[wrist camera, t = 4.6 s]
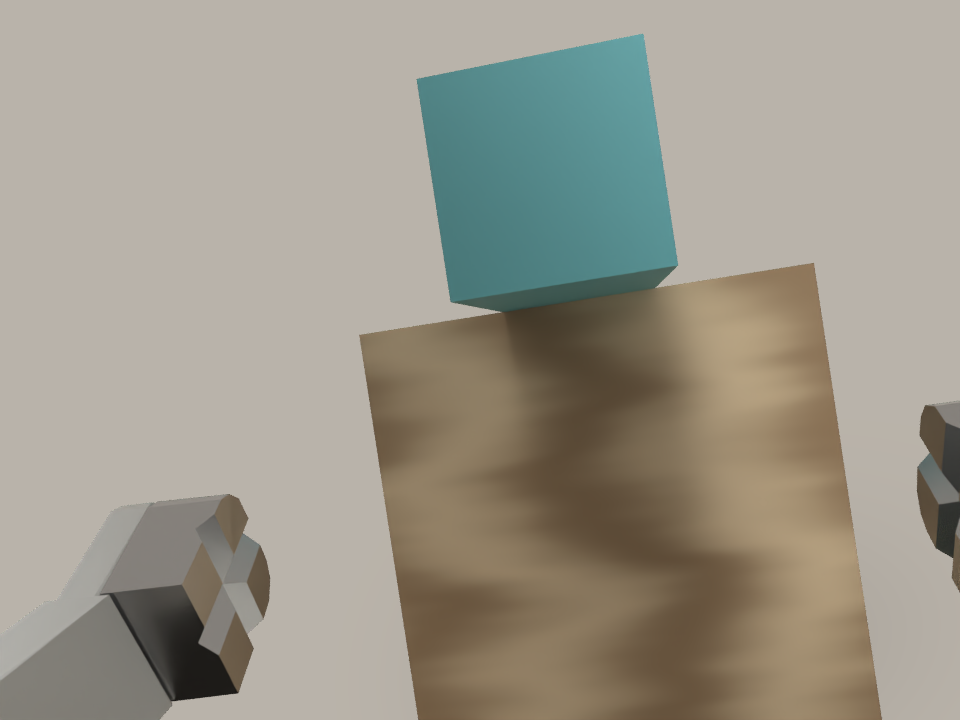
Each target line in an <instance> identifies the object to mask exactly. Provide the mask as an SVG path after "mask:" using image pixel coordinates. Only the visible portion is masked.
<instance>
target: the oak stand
mask: <svg viewBox="0 0 960 720" xmlns="http://www.w3.org/2000/svg"><path fill="white" fill-rule="evenodd" d="M359 336H360V342H361V349H362V355H363V362H364V368H365V375H366V381H367V388H368V394H369V401H370V407H371V414H372V420H373V427H374V434H375V440H376V446H377V453H378V459H379V466H380V473H381V479H382V486H383V492H384V499H385V505H386V512H387V518H388V525H389V531H390V538H391V544H392V551H393V557H394V564H395V570H396V576H397V583H398V590H399V595H400V603H401V609H402V616H403V622H404V629H405V635H406V642H407V648H408V655H409V661H410V668H411V674H412V681H413V687H414V694H415V701H416V707H417V714H418V720H882V717H881V711H880V704H879V697H878V691H877V684H876V677H875V671H874V664H873V657H872V650H871V644H870V637H869V630H868V624H867V617H866V610H865V603H864V596H863V590H862V583H861V577H860V570H859V564H858V556H857V549H856V543H855V536H854V529H853V523H852V516H851V509H850V503H849V496H848V489H847V483H846V476H845V470H844V463H843V456H842V449H841V443H840V435H839V429H838V422H837V416H836V409H835V402H834V395H833V389H832V382H831V375H830V368H829V362H828V355H827V349H826V341H825V335H824V328H823V321H822V315H821V308H820V301H819V294H818V288H817V281H816V274H815V268H814V263H811V264H805V265H798V266H792V267H786V268H779V269H773V270H767V271H760V272H754V273H748V274H741V275H735V276H729V277H723V278H717V279H710V280H703V281H697V282H691V283H684V284H678V285H672V286H665V287H659V288H653V289H647V290H640V291H634V292H628V293H621V294H615V295H609V296H602V297H596V298H590V299H584V300H577V301H571V302H565V303H558V304H552V305H546V306H539V307H533V308H527V309H520V310H514V311H508V312H501V313H495V314H489V315H482V316H476V317H470V318H464V319H458V320H451V321H445V322H439V323H432V324H426V325H419V326H413V327H407V328H400V329H394V330H388V331H382V332H375V333H369V334H363V335H359Z"/></svg>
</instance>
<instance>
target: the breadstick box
mask: <svg viewBox="0 0 960 720" xmlns="http://www.w3.org/2000/svg"><path fill="white" fill-rule="evenodd" d="M417 84H418V90H419V98H420V104H421V110H422V117H423V123H424V130H425V137H426V143H427V150H428V157H429V163H430V170H431V176H432V183H433V189H434V196H435V202H436V209H437V216H438V222H439V229H440V235H441V242H442V248H443V255H444V261H445V268H446V275H447V281H448V287H449V294H450V300H451V302H453V303H458V304H463V305H468V306H474V307H479V308H484V309H490V310H495V311H500V312H508V311H514V310H520V309H527V308H533V307H539V306H546V305H552V304H558V303H565V302H571V301H577V300H584V299H590V298H596V297H602V296H609V295H615V294H621V293H628V292H634V291H640V290H647V289H653V288H655V287H656V286H658V285H659V284H660V282H662V280H664V279H665V278H666V277H667V276H668V275H669V274H670V273H671V272H672V271H673V270H674V269H675V268H676V267H677V266H678V261H677V255H676V248H675V241H674V235H673V228H672V222H671V215H670V208H669V201H668V195H667V188H666V182H665V175H664V169H663V161H662V155H661V148H660V142H659V135H658V128H657V122H656V115H655V109H654V102H653V95H652V88H651V82H650V76H649V68H648V62H647V55H646V48H645V42H644V35H643V34H639V35H634V36H630V37H624V38H619V39H614V40H609V41H604V42H600V43H595V44H589V45H584V46H579V47H575V48H569V49H564V50H559V51H554V52H550V53H544V54H539V55H534V56H530V57H524V58H520V59H514V60H509V61H505V62H499V63H495V64H489V65H484V66H479V67H474V68H470V69H464V70H460V71H454V72H449V73H444V74H440V75H434V76H429V77H424V78H419V79H417Z"/></svg>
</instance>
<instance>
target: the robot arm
mask: <svg viewBox="0 0 960 720" xmlns="http://www.w3.org/2000/svg"><path fill="white" fill-rule="evenodd" d="M920 437H921V439H922V440H923V442H924V444H925V445H926V447H927V449H928V450H929V452H930V453H929V455H928V456H927V457H926V458H925V459H924V460H923V461H922V462H921V464H920V465H919V466H918V470H917V493H918V499H919V505H920V511H921V515H922V518H923V521H924V524H925V527H926V529H927V532H928V534H929V536H930V538H931V540H932V542H933V544H934V546H935V547H936V549H938V550H940V551H942V552H943V553H945V554H947V555H949V556H950V557H952V558H953V571H952V579H953V581H954V583H955V584H956V586H957V588H958V590H959V592H960V401H954V402H947V403H939V404H932V405H925V407H924V410H923V413H922V416H921V423H920ZM247 520H248V517H247V515H246V513H245V511H244V509H243V507H242V505H241V502H240V500H239V499H238V498H236V497H234V496H232V495H230V494H226V495H217V496H207V497H198V498H188V499H178V500H169V501H159V502H156V503H145V504H136V505H127V506H121V507H119V508H117V509H115V510H113V511H111V512H110V514H109V515H108V517H107V519H106V521H105V522H104V524H103V526H102V527H101V529H100V531H99V532H98V533H97V535H96V537H95V538H94V540H93V542H92V543H91V545H90V547H89V548H88V550H87V552H86V553H85V555H84V556H83V558H82V560H81V562H80V563H79V565H78V566H77V568H76V570H75V571H74V573H73V575H72V576H71V578H70V579H69V581H68V583H67V584H66V586H65V588H64V589H63V591H62V592H61V594H60V596H59V597H58V599H57V600H55V601H47V602H44V603H43V604H41V605H40V606H39V607H37V608H36V609H35V610H33V611H32V612H30V613H29V614H28V615H26V616H25V617H24V618H22V619H21V620H19V621H18V622H17V623H15V624H14V625H13V626H11V627H10V628H9V629H8V630H6V631H5V632H3V633H2V634H1V635H0V720H160V718H161V717H162V716H163V715H164V714H165V713H166V711H168V710H169V708H170V707H171V706H172V702H171V701H178V700H187V699H195V698H203V697H211V696H219V695H228V694H236V693H238V692H239V690H240V687H241V684H242V681H243V678H244V675H245V672H246V669H247V666H248V663H249V660H250V657H251V654H252V652H253V649H254V648H253V646H252V644H251V642H250V639H249V637H248V635H247V634H248V633H249V632H250V631H251V630H252V629H253V628H254V627H256V626H257V625H258V624H259V623H260V622H261V621H262V620H263V618H264V615H265V612H266V609H267V606H268V602H269V589H270V575H269V570H268V565H267V561H266V558H265V556H264V553H263V551H262V548H261V546H260V545H259V544H258V543H256V542H255V541H253V540H252V539H250V538H249V537H248V536H246V535H245V534H243V531H244V528H245V526H246V523H247Z"/></svg>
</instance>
